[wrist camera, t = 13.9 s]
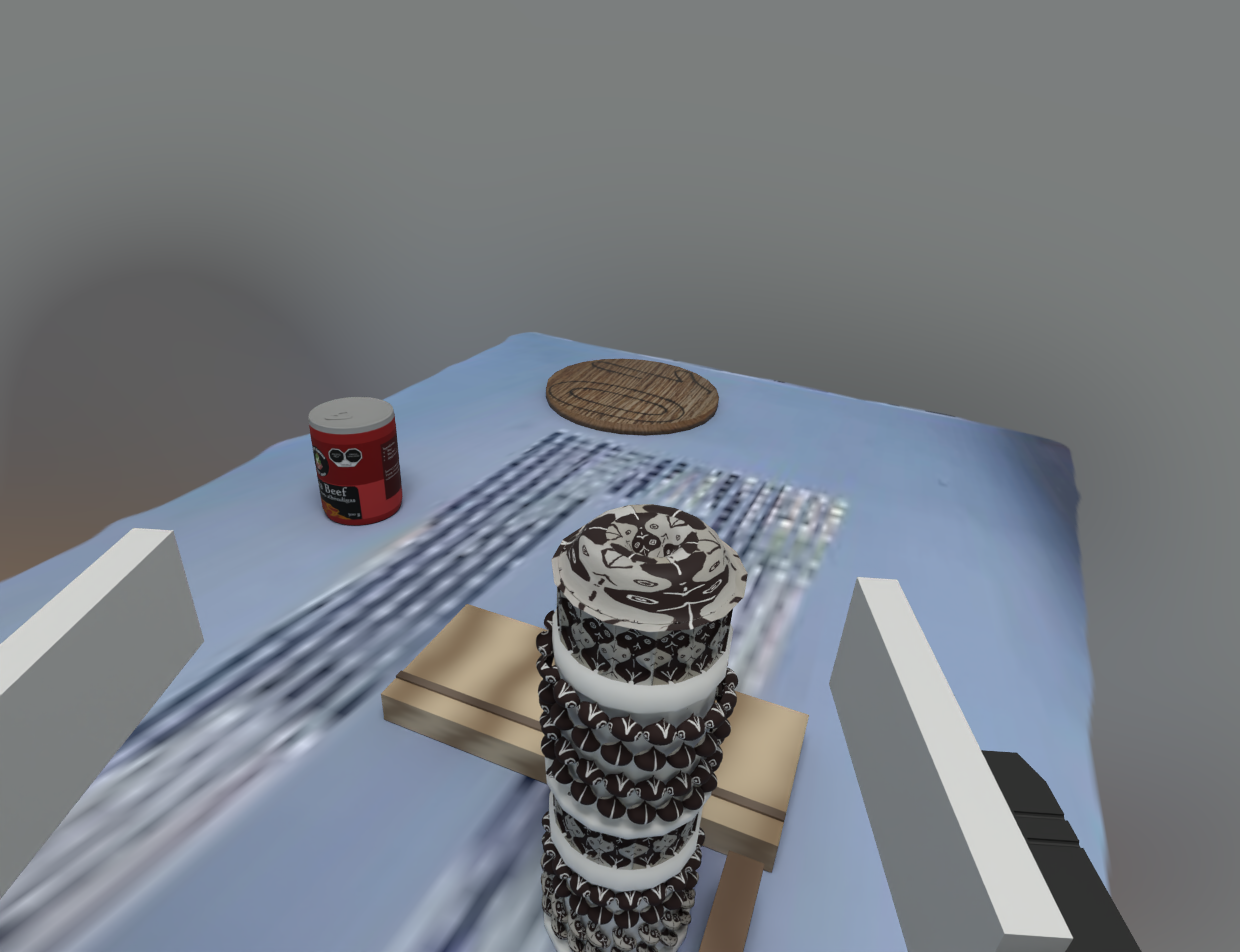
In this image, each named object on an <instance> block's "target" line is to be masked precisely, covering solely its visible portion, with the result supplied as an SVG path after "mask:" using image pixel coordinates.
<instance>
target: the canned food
mask: <svg viewBox="0 0 1240 952" xmlns="http://www.w3.org/2000/svg"><path fill="white" fill-rule="evenodd" d="M309 427H310V435H311V441H312V447H313V453H314V459H315V465H316V471H317V477H318V483H319V489H320V495H321V501H322V507H323V509H324V511H325V513H326V514H327V516H328V517H329V518H330V519H331V520H333V521H335V522H337V523H341V524H345V525H366V524H372V523H376V522H379V521H382V520H384V519H386V518H388V517H390V516H392V515H393V514H394V513H396V512H397V510H398V509H399V508H400V505H401V501H402V486H401V476H400V465H399V454H398V443H397V433H396V423H395V414H394V411H393V407H392V406H391V405H390V404H389V403H387V402H386V401H383V400H380V399H375V398H368V397H350V398H342V399H336V400H332V401H329V402H326V403H323V404H321V405H319V406H317V407H315V408H314V409H312V410H311V411H310V413H309Z"/></svg>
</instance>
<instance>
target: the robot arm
mask: <svg viewBox="0 0 1240 952" xmlns="http://www.w3.org/2000/svg"><path fill="white" fill-rule="evenodd" d="M203 642H204V639H203V635H202V631H201V628H200V624H199V621H198V617H197V614H196V610H195V606H194V603H193V599H192V596H191V592H190V589H189V585H188V581H187V578H186V574H185V571H184V567H183V564H182V560H181V556H180V553H179V549H178V546H177V542H176V539H175V535H174V531H170V530H156V529H141V528H133V529H132V530H131V531H130V532H128V533H127V534H126V535H125V536H124V537H123V538H122V539H120V540H119V541H118V542H117V543H116V544H115V545H114V546H112V547H111V548H110V549H109V550H108V551H107V552H106V553H104V554H103V555H102V556H101V557H100V558H99V559H98V560H96V561H95V562H94V563H93V564H92V565H91V566H90V567H88V568H87V569H86V570H85V571H84V572H83V573H82V574H80V575H79V576H78V577H77V578H76V579H75V580H74V581H72V582H71V583H70V584H69V585H68V586H67V587H66V588H64V589H63V590H62V591H61V592H60V593H59V594H58V595H56V596H55V597H54V598H53V599H52V600H51V601H49V602H48V603H47V604H46V605H45V606H44V607H43V608H41V609H40V610H39V611H38V612H37V613H36V614H35V615H33V616H32V617H31V618H30V619H29V620H28V621H27V622H25V623H24V624H23V625H22V626H21V627H20V628H19V629H17V630H16V631H15V632H14V633H13V634H12V635H11V636H9V637H8V638H7V639H6V640H5V641H4V642H3V643H1V644H0V899H1V898H2V897H3V895H4V894H5V893H6V891H7V890H8V889H9V888H10V886H11V885H12V884H13V883H14V881H15V880H16V879H17V878H18V876H19V875H20V874H21V872H22V871H23V870H24V869H25V867H26V866H27V865H28V864H29V862H30V861H31V860H32V859H33V857H34V856H35V855H36V853H37V852H38V851H39V850H40V848H41V847H42V846H43V845H44V843H45V842H46V841H47V840H48V838H49V837H50V836H51V834H52V833H53V832H54V831H55V829H56V828H57V827H58V826H59V824H60V823H61V822H62V821H63V819H64V818H65V817H66V815H67V814H68V813H69V812H70V810H71V809H72V808H73V807H74V805H75V804H76V803H77V802H78V800H79V799H80V798H81V796H82V795H83V794H84V793H85V791H86V790H87V789H88V788H89V786H90V785H91V784H92V783H93V781H94V780H95V779H96V777H97V776H98V775H99V774H100V772H101V771H102V770H103V769H104V767H105V766H106V765H107V764H108V762H109V761H110V760H111V758H112V757H113V756H114V755H115V753H116V752H117V751H118V750H119V748H120V747H121V746H122V745H123V743H124V742H125V741H126V739H127V738H128V737H129V736H130V734H131V733H132V732H133V731H134V729H135V728H136V727H137V726H138V724H139V723H140V722H141V720H142V719H143V718H144V717H145V715H146V714H147V713H148V712H149V710H150V709H151V708H152V707H153V705H154V704H155V703H156V701H157V700H158V699H159V698H160V696H161V695H162V694H163V693H164V691H165V690H166V689H167V688H168V686H169V685H170V684H171V682H172V681H173V680H174V679H175V677H176V676H177V675H178V674H179V672H180V671H181V670H182V669H183V667H184V666H185V665H186V663H187V662H188V661H189V660H190V658H191V657H192V656H193V655H194V653H195V652H196V651H197V650H198V648H199V647H200V646H201V644H202V643H203ZM829 685H830V689H831V692H832V695H833V699H834V702H835V705H836V709H837V712H838V716H839V719H840V722H841V726H842V729H843V733H844V736H845V739H846V743H847V746H848V750H849V753H850V756H851V760H852V763H853V766H854V770H855V773H856V777H857V780H858V783H859V787H860V790H861V794H862V797H863V800H864V804H865V807H866V811H867V814H868V817H869V821H870V824H871V828H872V831H873V834H874V838H875V841H876V844H877V848H878V851H879V855H880V858H881V861H882V865H883V868H884V872H885V875H886V878H887V882H888V885H889V889H890V892H891V895H892V899H893V902H894V905H895V909H896V912H897V916H898V919H899V922H900V926H901V929H902V933H903V936H904V939H905V943H906V946H907V950H908V952H1141V950H1140V949H1139V947H1138V945H1137V943H1136V942H1135V940H1134V938H1133V936H1132V934H1131V933H1130V931H1129V929H1128V927H1127V925H1126V924H1125V922H1124V920H1123V918H1122V916H1121V915H1120V913H1119V911H1118V909H1117V907H1116V906H1115V904H1114V902H1113V900H1112V899H1111V897H1110V895H1109V893H1108V891H1107V890H1106V888H1105V886H1104V884H1103V883H1102V881H1101V879H1100V877H1099V875H1098V874H1097V872H1096V870H1095V868H1094V867H1093V865H1092V863H1091V861H1090V859H1089V858H1088V856H1087V854H1086V852H1085V850H1084V849H1083V848H1080V846H1079V840H1078V838H1077V836H1076V834H1075V833H1074V831H1073V829H1072V827H1071V826H1070V824H1069V822H1068V821H1065V819H1064V813H1063V811H1062V810H1061V808H1060V806H1059V804H1058V802H1057V801H1056V799H1055V797H1054V795H1053V793H1052V792H1051V790H1050V788H1049V786H1048V785H1047V783H1046V781H1045V780H1044V779H1043V778H1042V777H1041V776H1040V775H1039V774H1038V773H1037V772H1036V771H1035V770H1034V769H1033V768H1032V767H1031V766H1030V765H1029V764H1028V763H1027V762H1026V761H1025V760H1024V759H1023V758H1022V757H1021V756H1020V755H1019V754H1018V753H1012V752H997V751H983V750H981V749H980V747H979V745H978V743H977V741H976V739H975V737H974V735H973V733H972V731H971V729H970V727H969V725H968V723H967V721H966V719H965V717H964V715H963V713H962V711H961V709H960V707H959V705H958V703H957V701H956V699H955V697H954V695H953V692H952V690H951V688H950V686H949V684H948V682H947V680H946V678H945V676H944V674H943V672H942V670H941V668H940V666H939V664H938V662H937V660H936V658H935V656H934V654H933V652H932V650H931V648H930V646H929V644H928V642H927V640H926V638H925V635H924V633H923V631H922V629H921V627H920V625H919V623H918V621H917V619H916V617H915V615H914V613H913V611H912V609H911V607H910V605H909V603H908V601H907V599H906V597H905V595H904V593H903V591H902V589H901V587H900V585H899V583H898V580H892V579H877V578H862V577H857V580H856V583H855V587H854V591H853V595H852V599H851V602H850V606H849V610H848V614H847V618H846V622H845V625H844V629H843V633H842V637H841V641H840V644H839V648H838V652H837V656H836V660H835V663H834V667H833V671H832V675H831V679H830V683H829Z"/></svg>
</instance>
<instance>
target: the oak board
mask: <svg viewBox="0 0 1240 952" xmlns="http://www.w3.org/2000/svg"><path fill="white" fill-rule="evenodd" d="M542 631H544V632H545V631H549V630H546V629H542V628H539V627H536V626H533V625H530V624H527V623H524V622H521V621H518V620H515V619H512V618H509V617H505V616H502V615H499V614H496V613H493V612H490V611H487V610H484V609H481V608H478V607H475V606H472V605H469V604H467V605H466V606H465V607H464V608H463V609H462V610H461V611H460V612H459V613H458V614H457V615H456V616H455V617H454V618H453V619H452V620H451V621H450V622H449V623H448V624H447V626H446V627H445V628H444V629H443V630H442V631H441V632H440V633H439V634H438V635H437V636H436V637H435V638H434V639H433V640H432V641H431V642H430V643H429V644H428V645H427V646H426V647H425V648H424V649H423V651H422V652H421V653H420V654H419V655H418V656H417V657H416V658H415V659H414V660H413V661H412V662H411V663H410V664H409V665H408V666H407V667H406V668H405V669H404V670H403V671H400V672H399V673H398V674H397V675H396V679H395V680H394V681H393V682H392V683H391V684H390V685H389V686H388V687H387V688H386V689H385V690H384V691H383V692H382V693H381V698H382V705H383V712H384V719H385V720H387V721H390V722H392V723H395V724H397V725H400V726H402V727H405V728H407V729H410V730H412V731H415V732H417V733H420V734H422V735H425V736H427V737H430V738H432V739H435V740H438V741H440V742H443V743H445V744H448V745H450V746H453V747H455V748H458V749H460V750H463V751H465V752H468V753H470V754H473V755H475V756H478V757H480V758H483V759H486V760H488V761H491V762H493V763H496V764H498V765H501V766H503V767H506V768H508V769H511V770H513V771H516V772H518V773H521V774H523V775H526V776H528V777H531V778H533V779H536V780H539V781H541V782H544V783H546V784H547V780H546V767H545V756H544V755H543V753H542V751H541V741H542V738H543V737H544V734H543V732H542V730H541V725H540V722H539V720H540V716H541V714H542V713H543V712H544V711H543V709H542V708H541V706H540V704H539V696H538V687H539V684H540V682H541V681H542V680H543V678H542V677H541V676H540V674H539V672H538V670H537V667H536V662H537V660H538V659H539V657H540V656H541V655H542V654H541V653H540V652H539V651H538V649H537V647H536V637H537V635H538V634H539V633H541V632H542ZM553 665H555V661H554V659H553V663H552V666H553ZM735 693H736V695H737V703H736V706H735V707H734V710H733V713H732V715H731V716H730V717H729V718H727V719H728V721H729V722H730V725H731V732H730V735H729V736H728V737H726V738H725V739H724V741H723V743H722V744H721V745H719V746H720V747H721V749H722V751H723V759H722V762H721V764H720V766H719V768H718V769H717V770H716V771H715V773H714V774H715V775H716V777H717V787H716V789H715V790H713V791H712V792H711V796H710V797H709V799H708V800H707V801H706V803H705V804H704V805H703V809H702V815H701V821H700V827H701V828H702V829H703V831H704V832H705V841H704V843H703V846H705V847H708V848H710V849H713V850H715V851H718V852H720V853H723V854H725V855H728V852H729V850H730V851H733V852H735V853H738V854H740V855H743V856H745V857H748V858H751V859H753V860H756V861H758V862H761V863H763V864H764V868H763V870H766V871H768V872H771V873H772V869H773V865H774V861H775V857H776V853H777V849H778V845H779V841H780V837H781V832H782V828H783V824H784V820H785V815H786V811H787V807H788V803H789V798H790V794H791V790H792V785H793V781H794V777H795V773H796V768H797V764H798V760H799V756H800V751H801V747H802V743H803V738H804V734H805V730H806V726H807V721H808V717H809V715H807V714H804V713H801V712H798V711H795V710H792V709H789V708H786V707H783V706H780V705H776V704H773V703H770V702H767V701H764V700H761V699H758V698H755V697H752V696H749V695H746V694H743V693H740V692H736V691H735ZM715 703H717V700H716V701H715Z"/></svg>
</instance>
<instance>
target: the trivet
mask: <svg viewBox="0 0 1240 952" xmlns="http://www.w3.org/2000/svg"><path fill="white" fill-rule="evenodd" d="M546 399H547V401H548V403H549V406H550V407H551V408H552V409H553V410H554V411H555V412H556V413H557V414H559V415H560V416H561V417H563V418H565V419H567V420H569V421H571V422H573V423H575V424H578V425H581V426H585V427H588V428H591V429H595V430H599V431H605V432H611V433H617V434H627V435H661V434H671V433H676V432H681V431H686V430H690V429H693V428H695V427H698V426H700V425H702V424H705V423H706V422H707V421H708V420H710V419H711V418H712V417H713V416H714V415H715V412H716V410H717V407H718V400H719V396H718V393H717V390H716V388H715V387H714V386H713V385H712V384H711V383H710V382H709V381H708V380H706V379H705V378H703V377H701V376H699V375H698V374H696V373H694V372H691V371H688V370H686V369H683V368H680V367H677V366H672V365H668V364H664V363H660V362H653V361H646V360H635V359H601V360H594V361H587V362H582V363H578V364H574V365H571V366H567V367H565V368H563V369H561V370H559V371H557V372H556V373H554V374H553V375H552V376H551V377H550V378H549V379H548V383H547V387H546Z"/></svg>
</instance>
